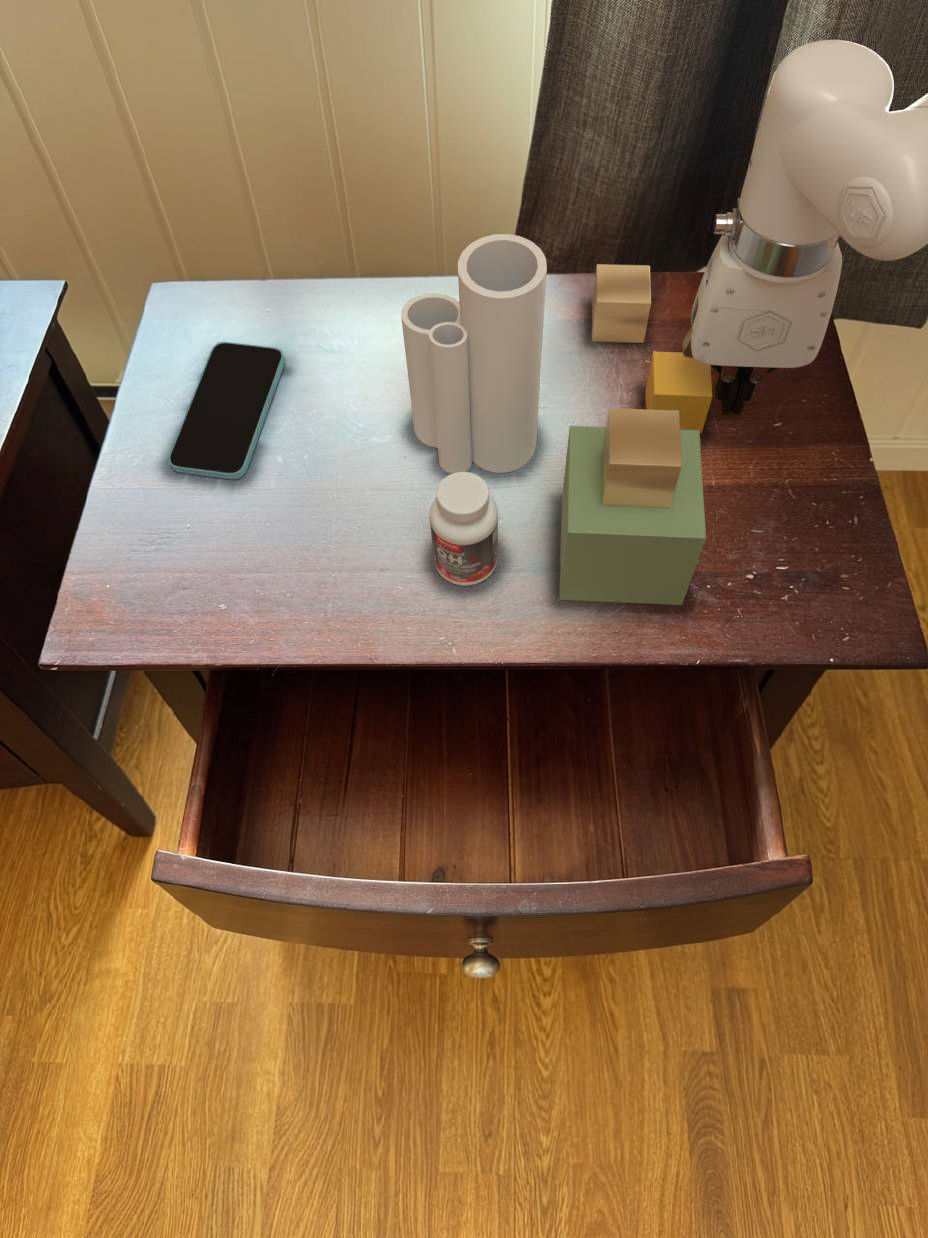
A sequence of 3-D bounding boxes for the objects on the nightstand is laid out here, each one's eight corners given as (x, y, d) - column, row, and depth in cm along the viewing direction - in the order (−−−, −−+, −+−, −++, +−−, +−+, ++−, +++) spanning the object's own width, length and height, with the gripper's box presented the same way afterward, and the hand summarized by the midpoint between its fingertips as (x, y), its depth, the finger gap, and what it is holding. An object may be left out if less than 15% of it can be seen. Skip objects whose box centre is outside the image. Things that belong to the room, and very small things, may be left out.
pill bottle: (435, 589, 78) (427, 522, 69) (433, 535, 80) (426, 464, 72) (499, 586, 78) (500, 519, 69) (496, 532, 80) (496, 461, 72)
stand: (561, 500, 82) (569, 425, 73) (677, 505, 81) (699, 429, 72) (559, 600, 77) (567, 532, 68) (682, 605, 76) (706, 538, 67)
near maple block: (601, 451, 71) (608, 407, 67) (668, 454, 71) (679, 410, 67) (601, 505, 69) (609, 463, 65) (670, 508, 69) (682, 466, 64)
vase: (539, 417, 86) (550, 235, 69) (532, 480, 83) (542, 306, 65) (417, 408, 87) (398, 226, 69) (406, 469, 84) (382, 295, 66)
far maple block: (591, 304, 93) (596, 263, 88) (642, 305, 92) (649, 264, 88) (591, 341, 90) (596, 301, 86) (643, 343, 90) (651, 303, 86)
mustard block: (645, 389, 87) (652, 351, 83) (699, 391, 87) (709, 352, 83) (645, 431, 85) (654, 393, 81) (701, 434, 85) (712, 396, 80)
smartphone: (164, 465, 84) (214, 340, 90) (168, 472, 85) (217, 348, 91) (241, 475, 83) (286, 348, 89) (244, 483, 84) (288, 356, 90)
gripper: (683, 264, 67) (647, 431, 83) (897, 270, 66) (818, 438, 82) (680, 194, 71) (645, 368, 87) (882, 200, 70) (810, 374, 86)
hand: (729, 402), depth 84 cm, fingers closed
